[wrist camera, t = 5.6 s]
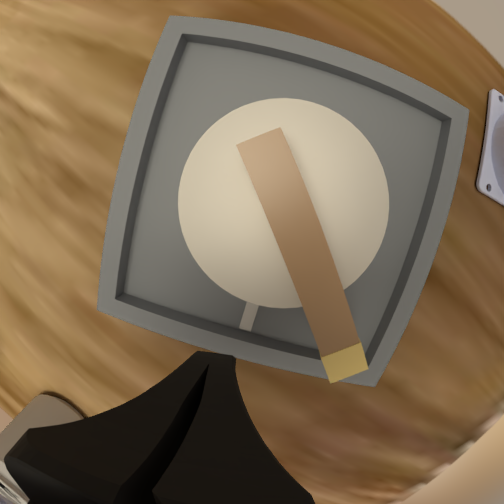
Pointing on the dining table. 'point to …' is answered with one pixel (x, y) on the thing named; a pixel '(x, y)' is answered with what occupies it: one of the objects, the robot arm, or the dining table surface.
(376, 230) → the dial
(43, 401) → the can
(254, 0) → the dining table surface
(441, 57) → the dining table surface
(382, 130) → the slate tray
